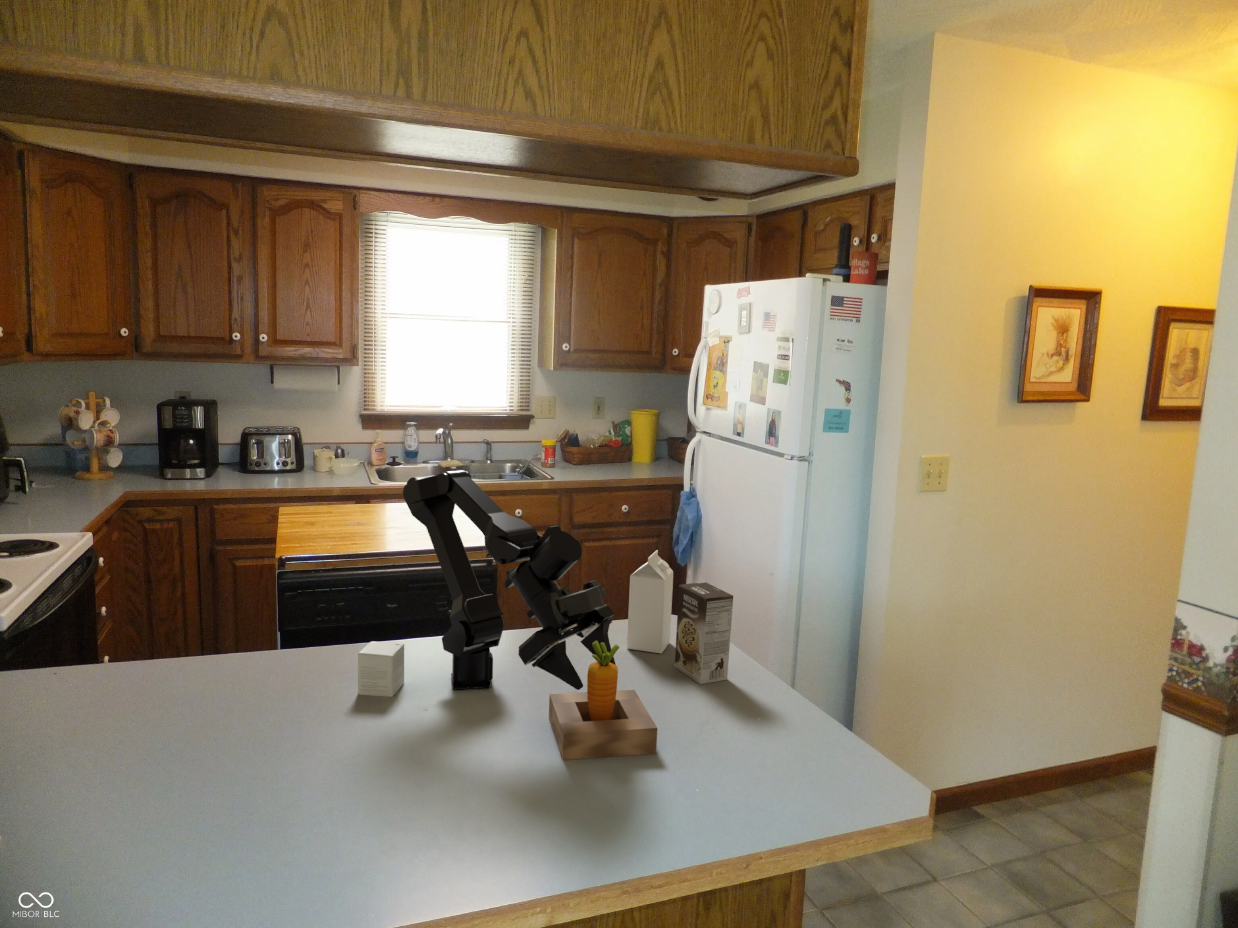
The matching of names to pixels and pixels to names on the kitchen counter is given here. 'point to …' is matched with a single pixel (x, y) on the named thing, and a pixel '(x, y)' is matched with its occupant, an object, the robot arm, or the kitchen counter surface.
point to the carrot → (602, 683)
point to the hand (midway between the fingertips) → (597, 678)
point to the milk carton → (650, 606)
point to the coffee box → (703, 632)
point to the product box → (380, 669)
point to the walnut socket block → (601, 727)
